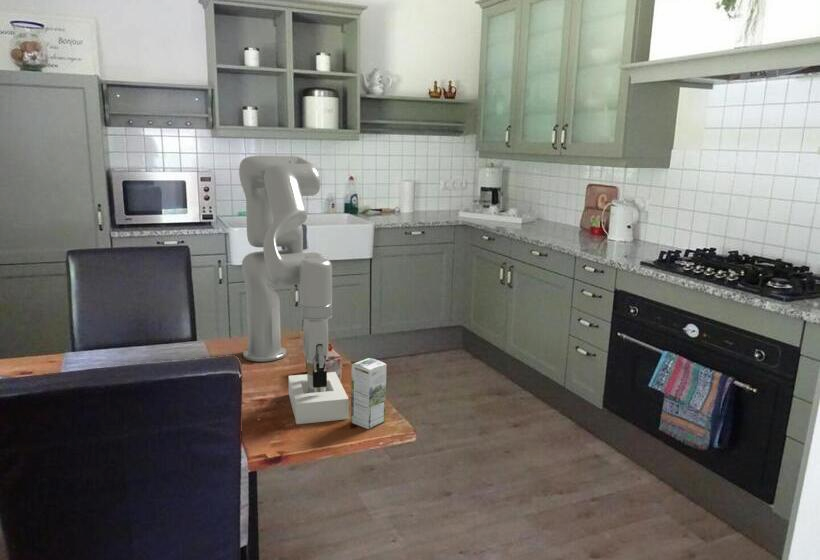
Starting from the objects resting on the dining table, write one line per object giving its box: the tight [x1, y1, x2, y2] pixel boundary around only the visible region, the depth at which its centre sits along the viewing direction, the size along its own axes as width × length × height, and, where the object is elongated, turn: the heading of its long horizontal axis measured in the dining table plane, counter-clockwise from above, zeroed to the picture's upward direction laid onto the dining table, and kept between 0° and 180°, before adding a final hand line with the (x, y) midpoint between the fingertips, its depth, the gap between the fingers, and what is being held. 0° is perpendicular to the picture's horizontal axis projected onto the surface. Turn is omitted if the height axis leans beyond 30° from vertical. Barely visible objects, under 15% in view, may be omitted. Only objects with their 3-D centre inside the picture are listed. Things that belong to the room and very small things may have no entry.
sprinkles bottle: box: [306, 357, 326, 393], centre depth 148 cm, size 5×5×14 cm
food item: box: [305, 343, 343, 383], centre depth 167 cm, size 14×8×10 cm, turn 28°
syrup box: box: [350, 357, 388, 430], centre depth 140 cm, size 6×6×14 cm
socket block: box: [287, 372, 350, 425], centre depth 149 cm, size 18×12×5 cm, turn 16°
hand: (316, 379), depth 148 cm, fingers open, 9 cm apart
